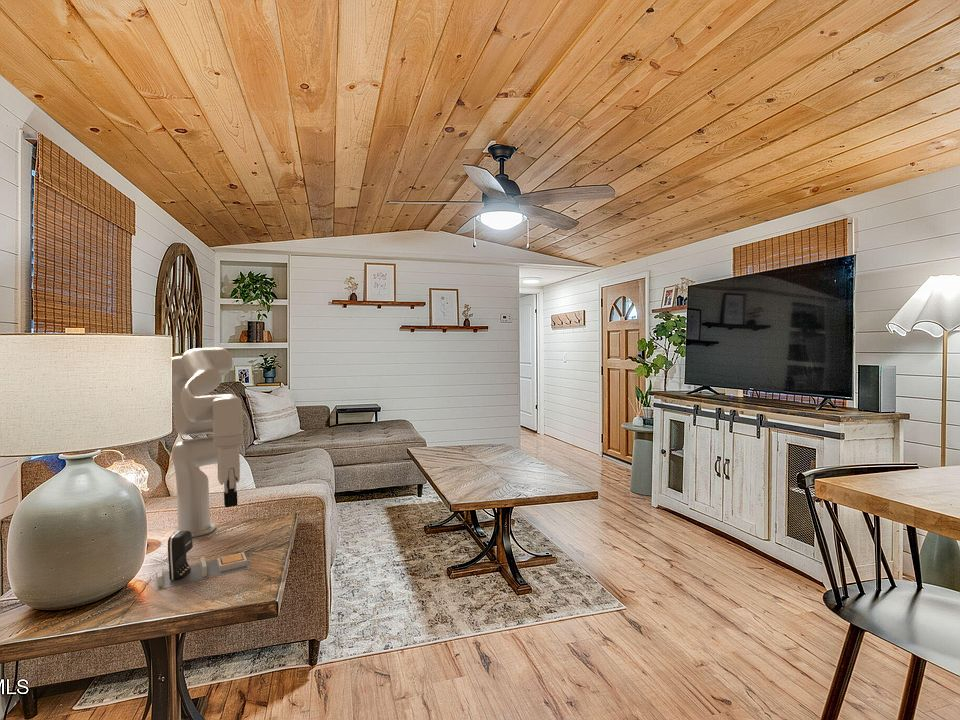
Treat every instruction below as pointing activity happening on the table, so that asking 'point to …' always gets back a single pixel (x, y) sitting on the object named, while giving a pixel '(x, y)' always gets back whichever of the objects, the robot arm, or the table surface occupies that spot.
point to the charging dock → (201, 572)
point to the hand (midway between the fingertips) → (230, 505)
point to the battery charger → (179, 554)
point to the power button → (231, 558)
